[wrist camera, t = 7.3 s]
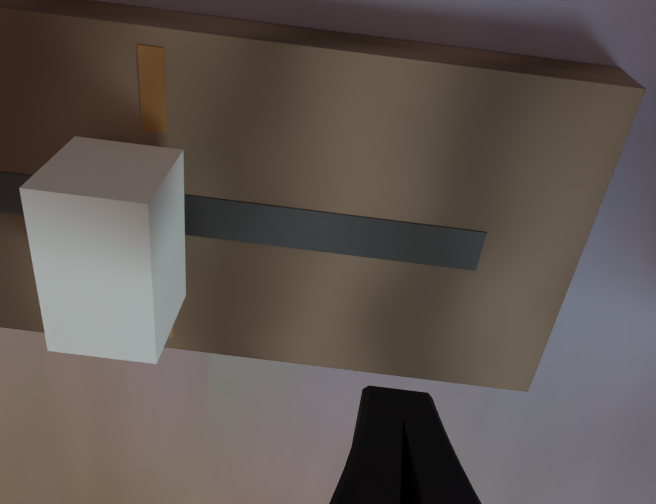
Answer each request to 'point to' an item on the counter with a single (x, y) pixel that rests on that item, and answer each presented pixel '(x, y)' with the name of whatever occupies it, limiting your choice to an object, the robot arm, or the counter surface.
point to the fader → (108, 247)
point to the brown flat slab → (328, 180)
